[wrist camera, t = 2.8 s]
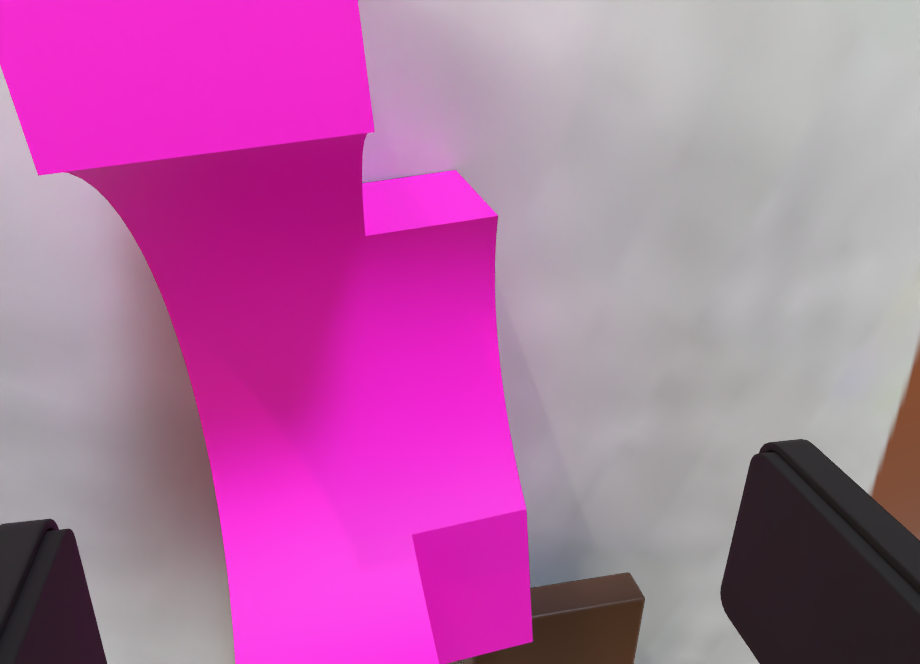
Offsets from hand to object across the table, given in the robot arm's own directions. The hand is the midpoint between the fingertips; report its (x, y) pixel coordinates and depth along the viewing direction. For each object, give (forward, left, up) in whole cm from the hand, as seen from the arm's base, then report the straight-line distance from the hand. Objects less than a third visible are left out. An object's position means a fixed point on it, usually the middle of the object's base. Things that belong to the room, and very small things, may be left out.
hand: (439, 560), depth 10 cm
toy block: (-1, 0, -9) cm, 9 cm away
